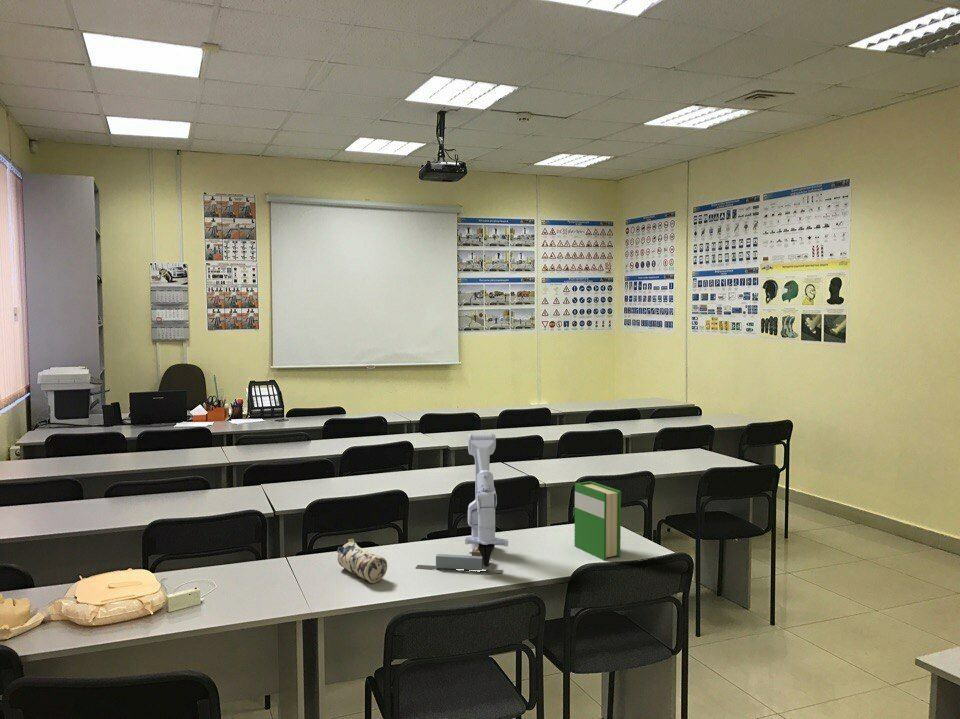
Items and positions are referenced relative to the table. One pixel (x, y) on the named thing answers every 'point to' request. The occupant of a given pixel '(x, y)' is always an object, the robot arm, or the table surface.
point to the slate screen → (459, 562)
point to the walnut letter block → (476, 552)
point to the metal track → (456, 570)
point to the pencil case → (362, 562)
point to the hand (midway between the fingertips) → (486, 565)
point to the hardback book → (597, 519)
